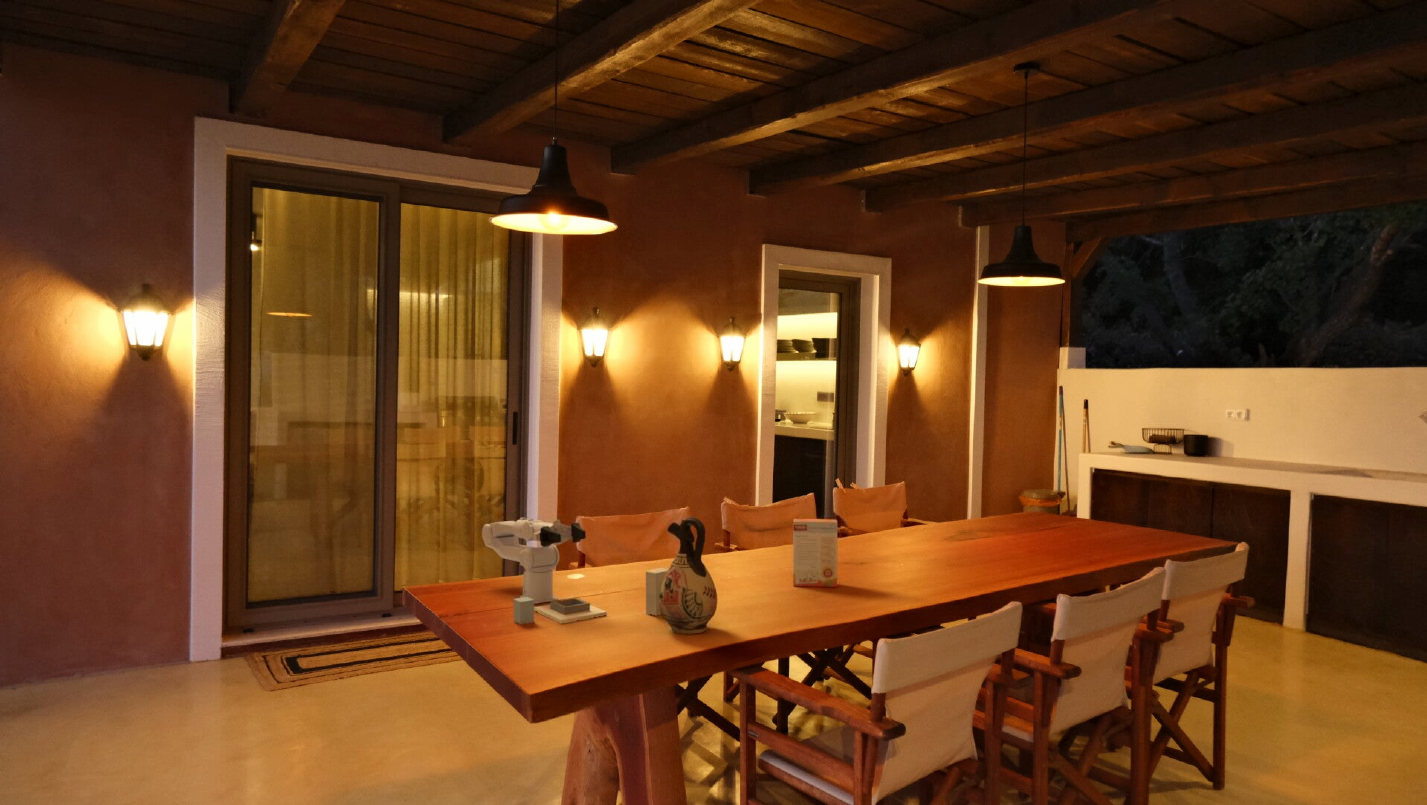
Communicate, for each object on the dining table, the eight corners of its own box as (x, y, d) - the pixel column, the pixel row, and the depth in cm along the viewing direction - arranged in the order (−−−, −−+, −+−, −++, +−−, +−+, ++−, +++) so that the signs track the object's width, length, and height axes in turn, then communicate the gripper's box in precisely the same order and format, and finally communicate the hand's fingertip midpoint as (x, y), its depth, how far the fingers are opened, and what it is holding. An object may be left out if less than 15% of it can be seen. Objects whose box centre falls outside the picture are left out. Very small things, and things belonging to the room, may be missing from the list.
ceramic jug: (645, 629, 232) (646, 515, 231) (689, 618, 243) (690, 509, 242) (690, 643, 220) (691, 523, 219) (733, 631, 231) (734, 516, 230)
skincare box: (659, 609, 252) (660, 567, 252) (670, 612, 250) (671, 569, 249) (644, 613, 248) (645, 570, 247) (656, 616, 245) (656, 573, 245)
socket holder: (534, 610, 249) (534, 600, 249) (578, 603, 258) (578, 593, 258) (561, 623, 237) (561, 612, 237) (606, 615, 245) (606, 604, 245)
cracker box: (836, 583, 286) (837, 518, 285) (837, 588, 280) (838, 521, 279) (792, 582, 287) (793, 517, 286) (792, 586, 281) (793, 520, 280)
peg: (513, 621, 239) (513, 598, 239) (527, 618, 242) (527, 596, 241) (520, 624, 236) (520, 602, 236) (533, 622, 238) (534, 599, 238)
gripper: (525, 521, 252) (547, 524, 241) (571, 516, 261) (594, 519, 250) (526, 546, 252) (548, 550, 241) (572, 540, 261) (595, 544, 250)
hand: (572, 536), depth 246 cm, fingers open, 7 cm apart
